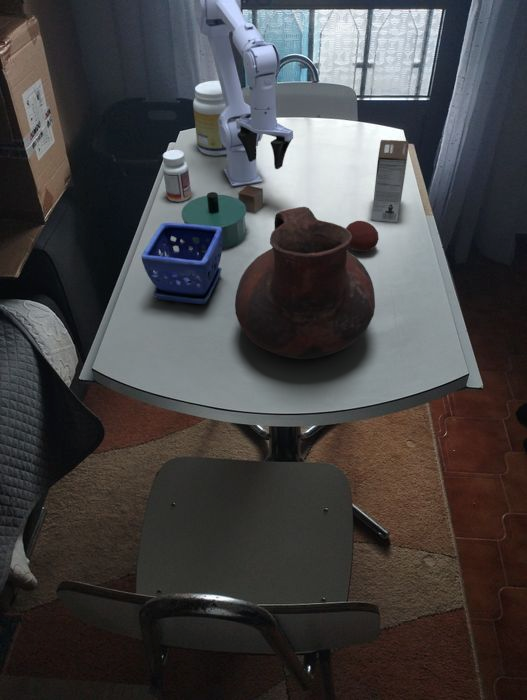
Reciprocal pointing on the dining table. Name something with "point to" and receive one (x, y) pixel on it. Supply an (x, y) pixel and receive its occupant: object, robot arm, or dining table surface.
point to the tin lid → (214, 211)
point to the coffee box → (389, 180)
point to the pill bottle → (176, 176)
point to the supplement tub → (209, 117)
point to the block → (251, 198)
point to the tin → (230, 235)
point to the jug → (305, 290)
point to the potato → (362, 236)
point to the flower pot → (184, 262)
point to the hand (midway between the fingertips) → (265, 163)
